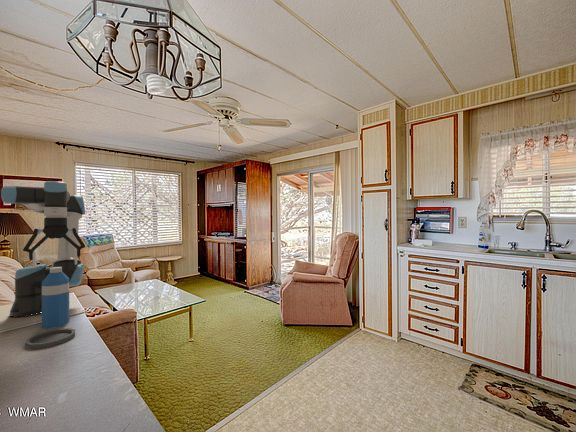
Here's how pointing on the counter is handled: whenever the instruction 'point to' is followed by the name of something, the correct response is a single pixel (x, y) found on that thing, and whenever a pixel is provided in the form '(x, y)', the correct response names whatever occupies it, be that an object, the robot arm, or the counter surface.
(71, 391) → the counter surface
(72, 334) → the coaster ring
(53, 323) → the water bottle
